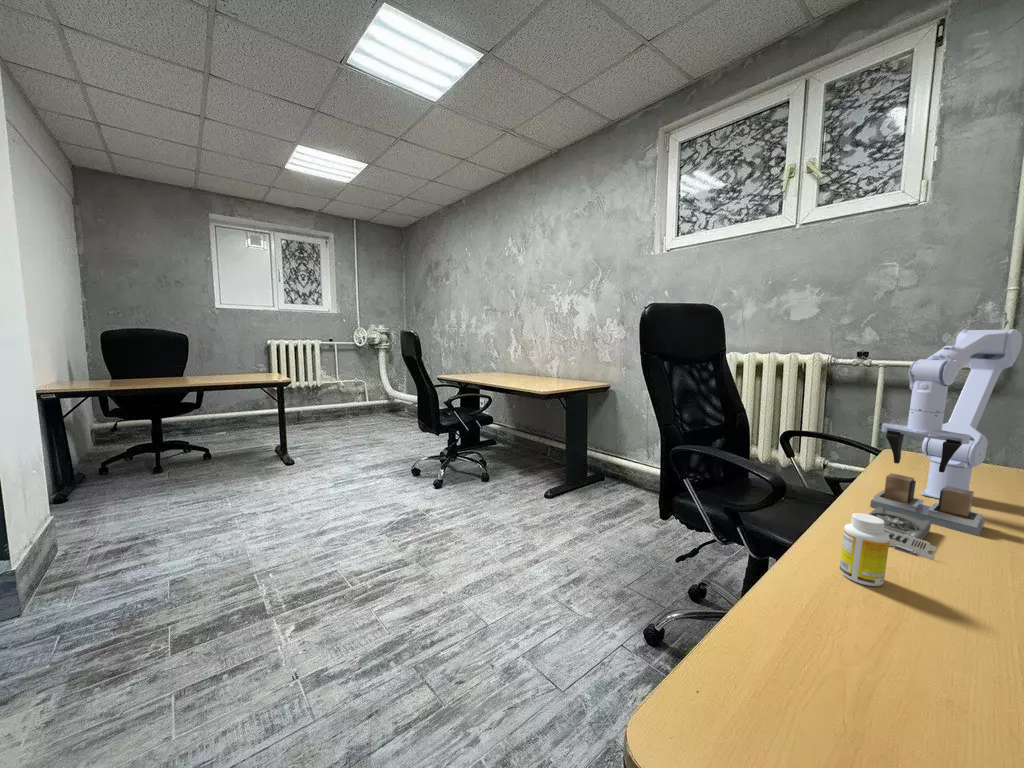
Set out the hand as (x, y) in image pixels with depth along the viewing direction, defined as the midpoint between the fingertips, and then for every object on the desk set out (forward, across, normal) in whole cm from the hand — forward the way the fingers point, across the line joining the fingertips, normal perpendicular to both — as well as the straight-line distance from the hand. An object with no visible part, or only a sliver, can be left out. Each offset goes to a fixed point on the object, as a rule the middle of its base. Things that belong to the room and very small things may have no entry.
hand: (918, 466), depth 97 cm
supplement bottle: (+10, +2, -50) cm, 51 cm away
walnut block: (+8, -2, -7) cm, 11 cm away
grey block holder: (+9, +3, -7) cm, 12 cm away
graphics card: (+10, +2, -25) cm, 27 cm away
